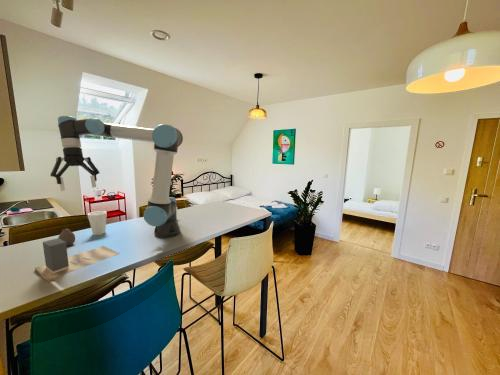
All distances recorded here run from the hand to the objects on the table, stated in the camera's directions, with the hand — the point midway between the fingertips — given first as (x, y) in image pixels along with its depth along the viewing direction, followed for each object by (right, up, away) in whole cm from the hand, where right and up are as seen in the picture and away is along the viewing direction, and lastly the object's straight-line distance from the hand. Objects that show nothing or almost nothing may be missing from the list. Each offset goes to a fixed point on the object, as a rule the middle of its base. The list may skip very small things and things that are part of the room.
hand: (79, 188), depth 109 cm
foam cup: (-5, -28, +22) cm, 36 cm away
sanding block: (+8, -33, -21) cm, 40 cm away
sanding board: (+12, -33, -14) cm, 38 cm away
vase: (-10, -31, +4) cm, 32 cm away
